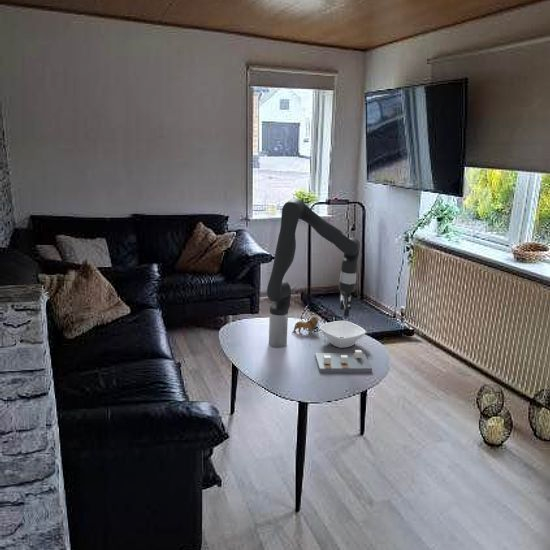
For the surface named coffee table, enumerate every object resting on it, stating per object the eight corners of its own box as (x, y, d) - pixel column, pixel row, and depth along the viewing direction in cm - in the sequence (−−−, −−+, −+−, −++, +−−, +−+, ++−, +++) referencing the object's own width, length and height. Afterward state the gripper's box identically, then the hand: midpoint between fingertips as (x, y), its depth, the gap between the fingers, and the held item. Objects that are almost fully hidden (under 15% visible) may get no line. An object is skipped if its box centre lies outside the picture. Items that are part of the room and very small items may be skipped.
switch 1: (323, 361, 230) (323, 355, 229) (329, 361, 231) (330, 355, 230) (324, 363, 228) (324, 357, 227) (330, 363, 228) (331, 357, 227)
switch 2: (340, 361, 231) (340, 355, 230) (346, 360, 231) (347, 355, 231) (341, 363, 229) (341, 357, 228) (347, 363, 229) (348, 357, 228)
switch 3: (354, 355, 237) (354, 350, 236) (360, 355, 237) (361, 350, 236) (355, 357, 235) (356, 352, 234) (361, 357, 235) (362, 352, 234)
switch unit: (314, 356, 240) (315, 352, 239) (363, 356, 242) (363, 352, 241) (319, 372, 225) (320, 368, 224) (371, 372, 226) (372, 367, 226)
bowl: (343, 333, 269) (344, 318, 267) (370, 347, 253) (371, 332, 250) (313, 340, 258) (314, 325, 256) (338, 356, 242) (339, 340, 239)
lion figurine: (315, 329, 273) (316, 314, 270) (319, 333, 268) (320, 318, 265) (290, 332, 268) (291, 316, 266) (293, 336, 264) (294, 320, 261)
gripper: (336, 275, 237) (333, 307, 242) (343, 285, 223) (339, 318, 228) (352, 276, 238) (348, 307, 243) (359, 285, 224) (355, 318, 229)
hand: (344, 312), depth 236 cm, fingers open, 8 cm apart
